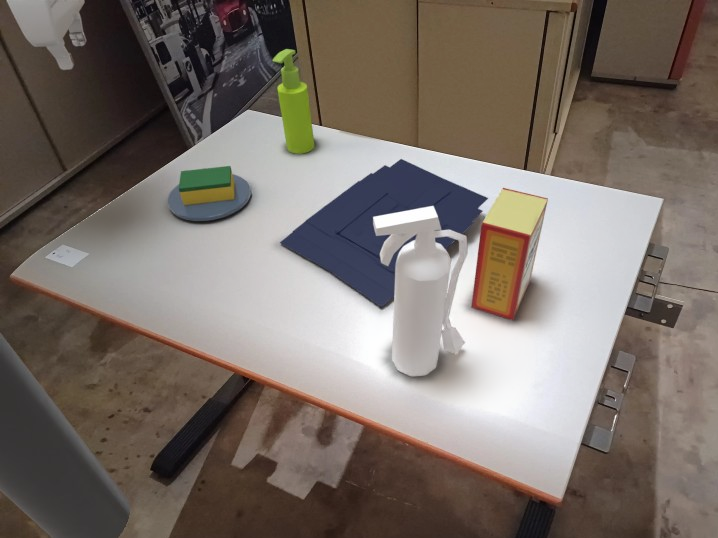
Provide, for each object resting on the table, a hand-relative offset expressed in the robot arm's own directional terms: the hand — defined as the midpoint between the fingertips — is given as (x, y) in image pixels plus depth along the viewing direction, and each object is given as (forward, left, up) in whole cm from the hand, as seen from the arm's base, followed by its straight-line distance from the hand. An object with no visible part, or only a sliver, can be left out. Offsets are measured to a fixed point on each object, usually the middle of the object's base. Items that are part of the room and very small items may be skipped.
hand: (74, 55), depth 85 cm
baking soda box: (+59, -38, -27) cm, 75 cm away
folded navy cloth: (+45, -19, -27) cm, 56 cm away
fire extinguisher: (+44, -48, -27) cm, 71 cm away
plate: (+14, -2, -27) cm, 31 cm away
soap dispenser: (+32, +14, -27) cm, 44 cm away
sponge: (+14, -2, -26) cm, 29 cm away
